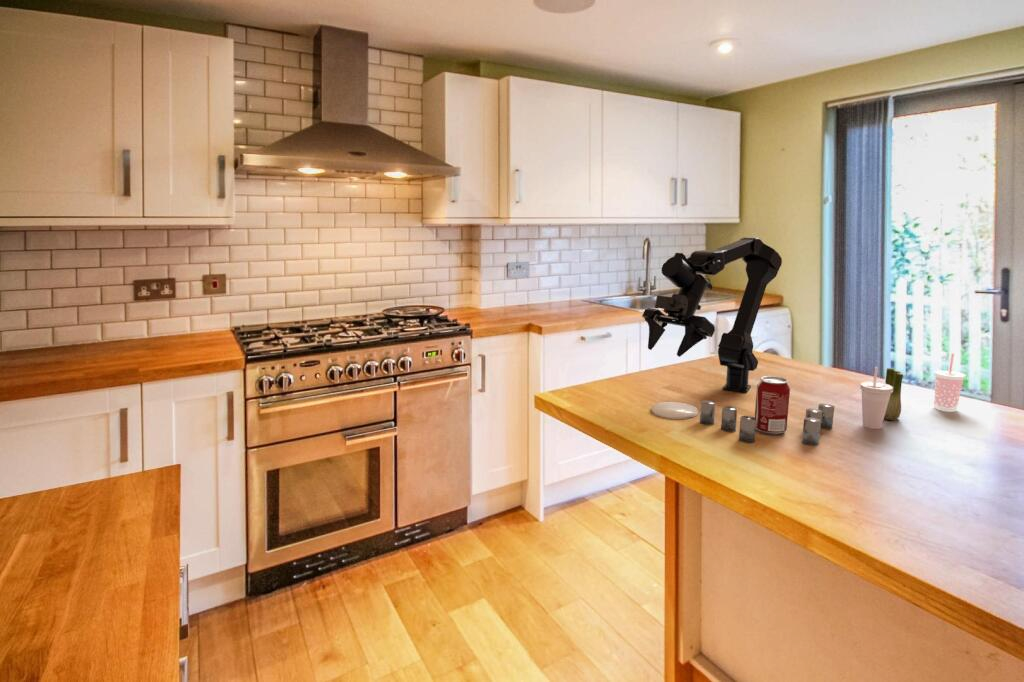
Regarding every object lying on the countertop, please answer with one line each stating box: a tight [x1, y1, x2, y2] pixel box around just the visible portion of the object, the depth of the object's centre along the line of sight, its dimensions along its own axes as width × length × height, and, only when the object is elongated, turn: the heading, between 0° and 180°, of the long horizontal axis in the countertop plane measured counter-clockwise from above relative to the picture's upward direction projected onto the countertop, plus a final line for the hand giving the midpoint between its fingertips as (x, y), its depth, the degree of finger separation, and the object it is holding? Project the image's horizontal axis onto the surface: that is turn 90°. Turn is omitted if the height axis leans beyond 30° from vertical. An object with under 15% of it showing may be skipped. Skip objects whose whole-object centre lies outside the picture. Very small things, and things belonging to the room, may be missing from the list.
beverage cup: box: [933, 353, 966, 413], centre depth 149 cm, size 6×6×14 cm
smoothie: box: [859, 366, 893, 430], centre depth 138 cm, size 6×6×14 cm
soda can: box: [754, 375, 791, 436], centre depth 136 cm, size 7×7×12 cm
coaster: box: [651, 401, 699, 420], centre depth 151 cm, size 11×11×1 cm
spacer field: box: [699, 399, 835, 446], centre depth 135 cm, size 14×29×5 cm, turn 82°
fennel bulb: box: [884, 367, 904, 421], centre depth 143 cm, size 6×5×12 cm
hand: (663, 352), depth 149 cm, fingers open, 9 cm apart
